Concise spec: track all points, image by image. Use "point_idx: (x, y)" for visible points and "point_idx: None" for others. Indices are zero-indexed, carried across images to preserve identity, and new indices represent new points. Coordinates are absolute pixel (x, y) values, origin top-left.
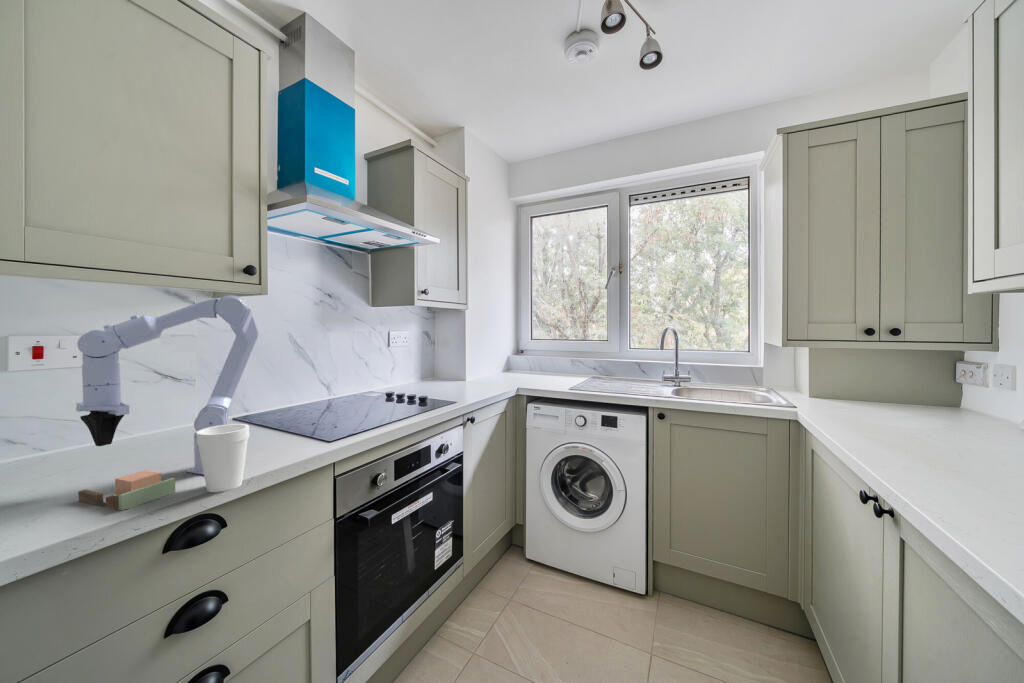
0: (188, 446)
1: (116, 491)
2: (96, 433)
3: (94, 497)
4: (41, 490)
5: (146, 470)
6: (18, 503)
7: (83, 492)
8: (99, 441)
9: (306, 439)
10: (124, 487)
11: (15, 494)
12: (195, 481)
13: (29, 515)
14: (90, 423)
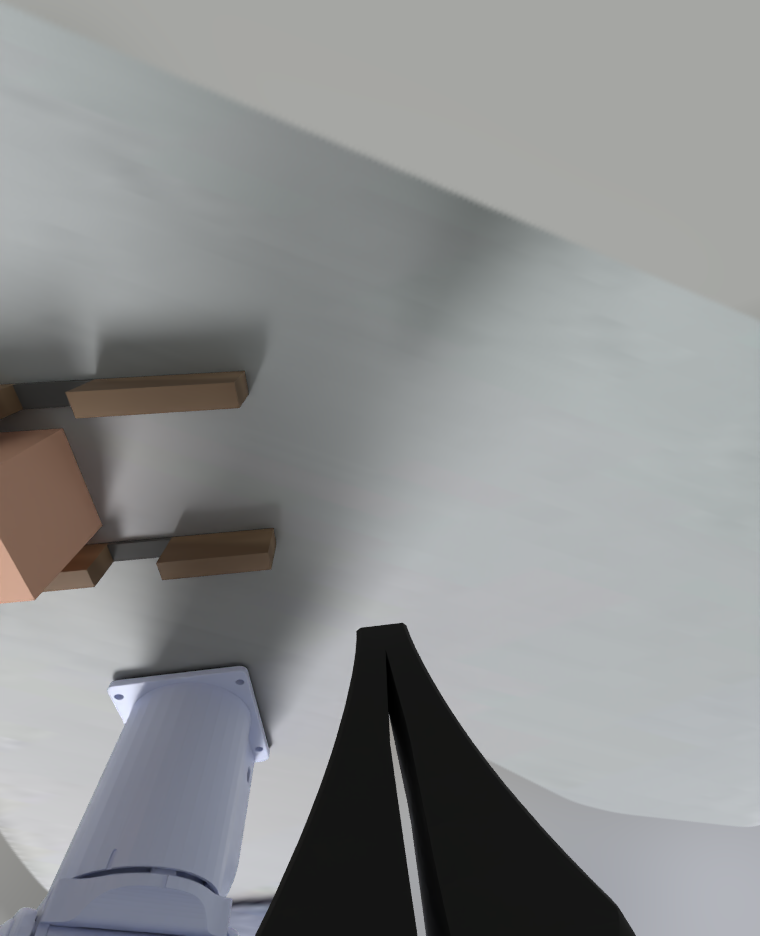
0: (558, 750)
1: (19, 450)
2: (349, 730)
3: (93, 387)
4: (580, 367)
5: (18, 600)
6: (489, 247)
7: (188, 386)
8: (354, 662)
9: (249, 892)
10: None
11: (642, 298)
12: (80, 642)
13: (228, 186)
14: (405, 863)
